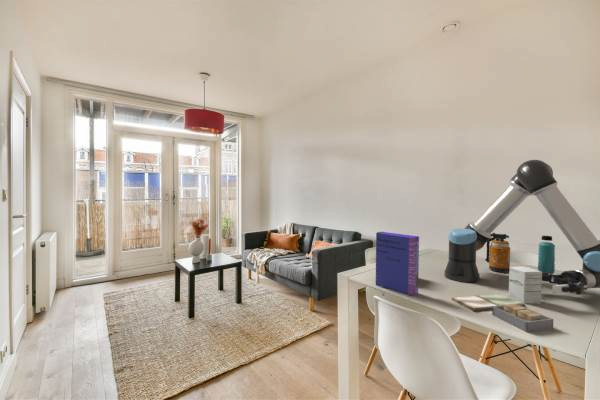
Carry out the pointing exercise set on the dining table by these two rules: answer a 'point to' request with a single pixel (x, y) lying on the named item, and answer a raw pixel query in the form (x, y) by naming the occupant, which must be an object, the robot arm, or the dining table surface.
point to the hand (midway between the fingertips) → (534, 283)
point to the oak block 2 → (528, 315)
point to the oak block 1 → (512, 309)
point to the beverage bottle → (546, 256)
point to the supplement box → (525, 284)
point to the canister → (498, 253)
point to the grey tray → (524, 325)
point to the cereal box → (397, 262)
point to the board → (484, 302)
